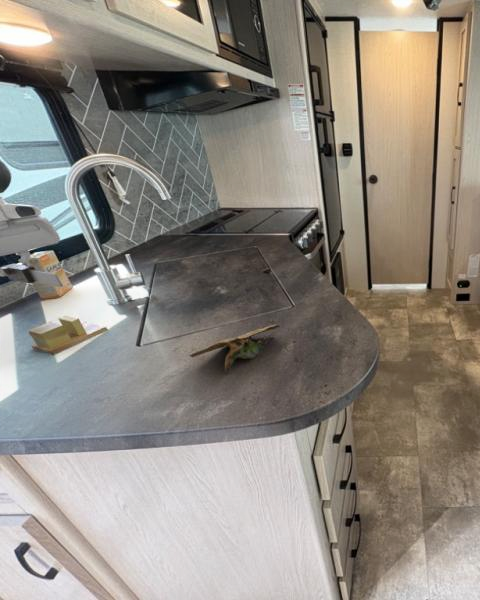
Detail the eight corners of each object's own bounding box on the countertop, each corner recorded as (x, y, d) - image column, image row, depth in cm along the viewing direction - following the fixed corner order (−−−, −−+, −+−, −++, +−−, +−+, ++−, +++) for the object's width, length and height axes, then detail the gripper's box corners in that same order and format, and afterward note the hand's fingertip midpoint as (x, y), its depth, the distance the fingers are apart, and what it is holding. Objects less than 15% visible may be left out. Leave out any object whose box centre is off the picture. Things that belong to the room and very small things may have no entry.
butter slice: (66, 332, 77) (58, 318, 75) (73, 329, 78) (65, 315, 77) (79, 335, 76) (71, 321, 74) (86, 332, 77) (78, 318, 75)
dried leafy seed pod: (243, 360, 78) (237, 330, 77) (293, 353, 74) (287, 321, 73) (174, 386, 60) (166, 347, 60) (235, 379, 56) (226, 337, 56)
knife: (9, 279, 75) (1, 266, 73) (22, 276, 77) (13, 263, 75) (56, 288, 70) (48, 274, 68) (68, 284, 71) (60, 270, 70)
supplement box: (61, 297, 98) (38, 257, 92) (41, 300, 96) (16, 260, 90) (74, 287, 105) (53, 249, 99) (56, 289, 103) (33, 251, 97)
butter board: (32, 348, 73) (20, 330, 71) (87, 325, 82) (78, 308, 80) (53, 355, 71) (41, 336, 68) (107, 329, 80) (98, 312, 78)
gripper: (-92, 225, 59) (-43, 292, 65) (47, 206, 76) (75, 260, 82) (-107, 224, 61) (-58, 288, 67) (31, 205, 78) (60, 257, 84)
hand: (16, 272), depth 75 cm, fingers closed on knife, 2 cm apart
